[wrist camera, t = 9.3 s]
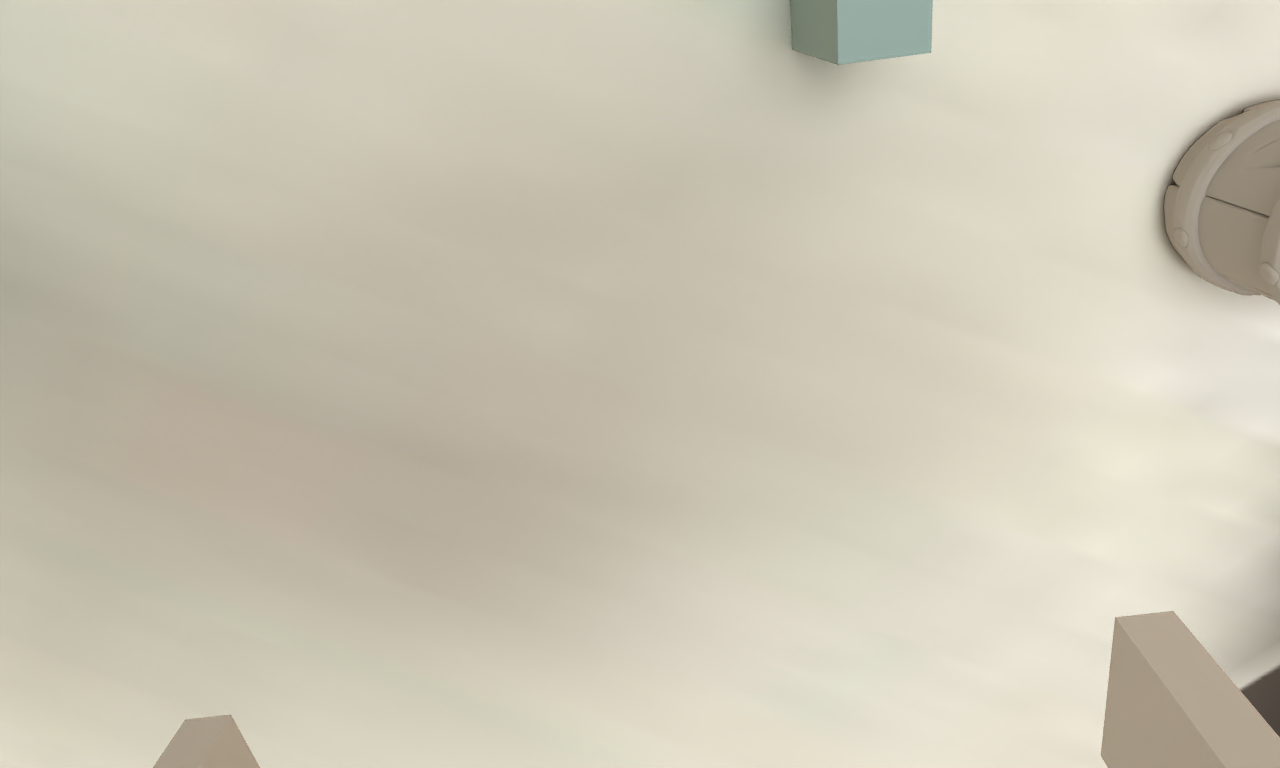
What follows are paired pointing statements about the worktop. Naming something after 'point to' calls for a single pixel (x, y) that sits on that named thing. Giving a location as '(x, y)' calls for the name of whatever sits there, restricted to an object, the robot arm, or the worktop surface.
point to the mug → (1231, 203)
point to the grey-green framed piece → (861, 29)
